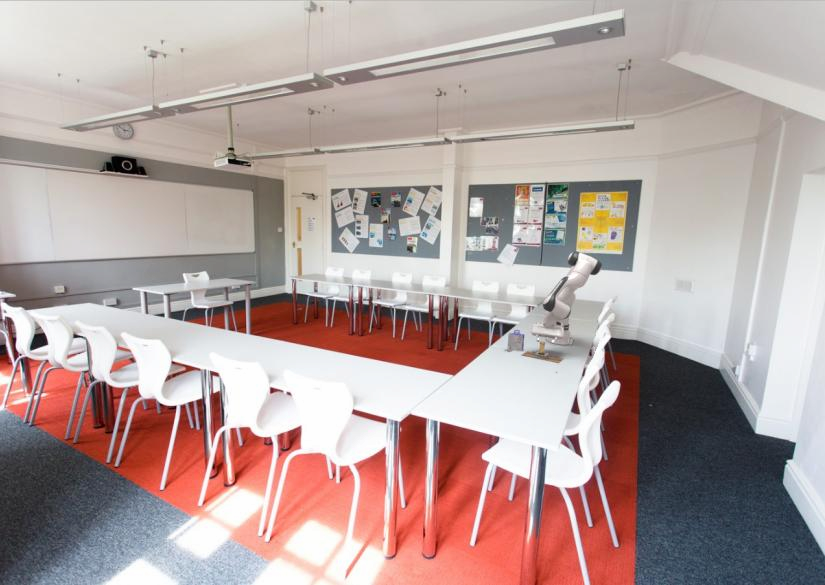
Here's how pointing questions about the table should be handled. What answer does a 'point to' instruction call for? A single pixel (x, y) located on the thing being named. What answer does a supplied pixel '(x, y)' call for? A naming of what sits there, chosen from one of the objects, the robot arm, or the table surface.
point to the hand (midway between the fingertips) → (545, 342)
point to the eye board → (543, 357)
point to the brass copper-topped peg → (542, 348)
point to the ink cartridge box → (515, 341)
